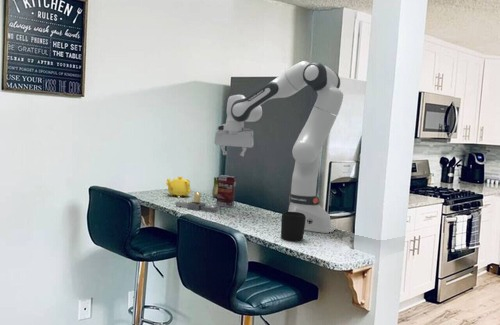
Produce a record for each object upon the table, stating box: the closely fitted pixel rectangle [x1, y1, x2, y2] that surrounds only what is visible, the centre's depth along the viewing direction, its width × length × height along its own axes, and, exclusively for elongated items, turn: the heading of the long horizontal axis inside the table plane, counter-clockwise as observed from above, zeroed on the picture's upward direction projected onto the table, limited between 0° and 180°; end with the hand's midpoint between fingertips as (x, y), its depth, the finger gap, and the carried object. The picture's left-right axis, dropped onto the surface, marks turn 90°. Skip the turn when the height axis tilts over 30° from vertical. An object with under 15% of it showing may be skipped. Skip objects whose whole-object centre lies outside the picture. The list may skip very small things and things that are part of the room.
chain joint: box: [174, 200, 219, 214], centre depth 243 cm, size 22×6×3 cm, turn 65°
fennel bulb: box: [212, 176, 219, 198], centre depth 284 cm, size 6×5×12 cm
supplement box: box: [215, 174, 237, 208], centre depth 257 cm, size 9×5×16 cm, turn 76°
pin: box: [193, 191, 202, 204], centre depth 243 cm, size 3×3×8 cm
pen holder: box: [280, 211, 306, 242], centre depth 194 cm, size 9×9×10 cm
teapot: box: [165, 176, 191, 197], centre depth 278 cm, size 14×14×11 cm
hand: (233, 155), depth 244 cm, fingers open, 8 cm apart
